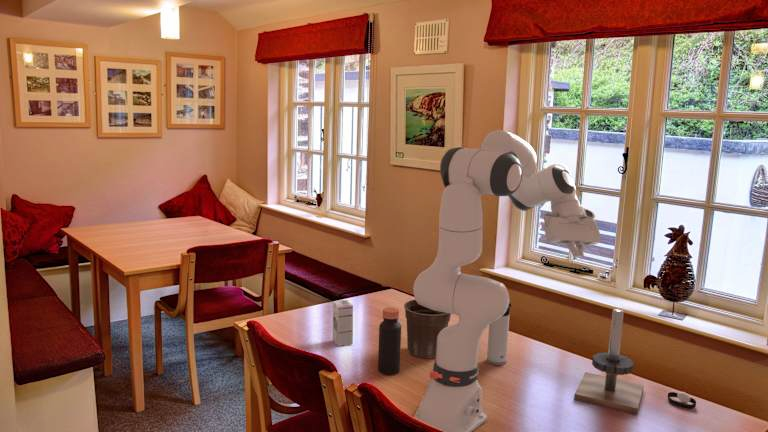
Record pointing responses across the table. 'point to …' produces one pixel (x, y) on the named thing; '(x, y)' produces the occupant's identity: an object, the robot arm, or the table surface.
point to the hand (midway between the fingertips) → (578, 257)
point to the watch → (683, 398)
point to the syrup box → (342, 322)
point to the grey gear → (612, 364)
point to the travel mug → (498, 339)
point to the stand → (609, 393)
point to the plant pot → (423, 329)
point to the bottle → (389, 342)
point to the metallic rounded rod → (614, 347)
